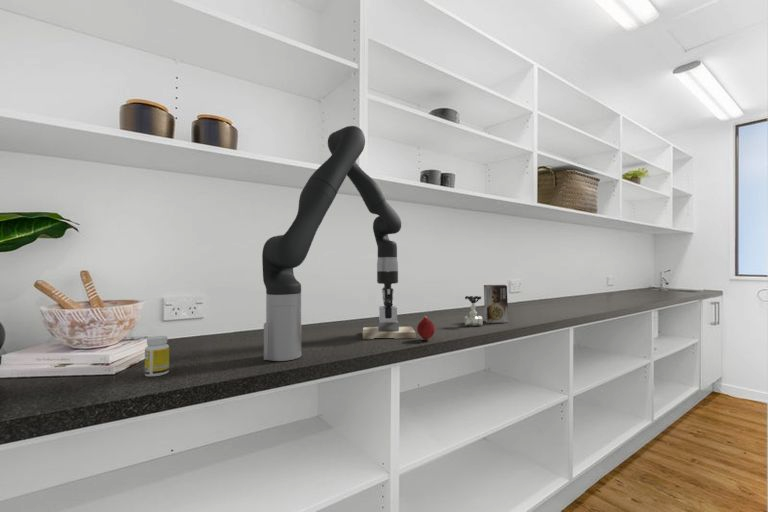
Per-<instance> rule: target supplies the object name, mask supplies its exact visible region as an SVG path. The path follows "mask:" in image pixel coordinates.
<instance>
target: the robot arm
mask: <svg viewBox="0 0 768 512" xmlns="http://www.w3.org/2000/svg"><path fill="white" fill-rule="evenodd" d="M365 145H366V137H365V134H364V132H363V130H362V129H361V128H360V127H358V126H356V125H349V126H345V127H343V128H340V129H338V130H336V131H333V132H332V133H330V134H329V136H328V138H327V147H328V150H329V152H330V154H331V155H330V157H329V158H327V159H326V160H325V161H324V162H323V163H322V164H321V165H320V166H319V167H317V169H316V170H315V171H314V172H313V173H312V174H311V176H310V177H309V178H308V180H307V182H306V183H305V185H304V187H303V188H302V190H301V192H300V195H299V199H298V208H297V209H298V210H297V215H296V216H295V218H294V220H293V222H292V223H291V225H290V226H289V228H288V229H287V231H286V232H285V233H283V234H279V235H275V236H272V237H270V238H268V239H267V240H266V241H265V243H264V244H263V248H262V255H261V257H262V258H261V259H262V262H261V263H262V279H263V284H264V286H265V296H266V297H265V299H266V300H265V306H266V307H265V313H266V314H265V315H266V316H265V322H264V323H263V360H264V361H273V362H286V361H292V360H297V359H299V358H300V357H302V284H301V282H299V281H298V280H297V279H296V277H295V275H294V268H298V267H300V265H302V264H303V263H304V261H305V259H306V257H307V256H308V253H309V251H310V249H311V246H312V244H313V241H314V239H315V236H316V234H317V231H318V230H319V228H320V226H321V224H322V222H323V220H324V218H325V216H326V214H327V212H328V210H329V209H330V207H331V206H332V204H333V202H334V200H335V199H336V196H337V195H338V192H339V190H340V188H341V187H342V185H343V183H344V181H345V179H346V177H348V179H349V180H350V181H351V182H352V184H353V185H354V187H355V189H356V190H357V191H358V193H359V195H360V196H361V199H362V201H363V202H364V204H365V207H366V208H367V210H368V212H369V213H370V214H371V215H372V214H373V215H377V217H375V219H374V220H373V223H372V231H373V235H374V239H375V242H376V243H375V244H376V246H377V260H376V261H377V262H376V282H377V284H378V285H379V284H383V287H382V288H381V294H382V301H383V306H385V307H386V308H385V318H392V308H391V307H392V306H394V305H393V302H394V288H392V284H398V283H399V265H398V264H399V262H398V246H397V243H396V241H394V240H390V238H389V235H395V234H397V233H399V232H400V231H401V228H402V220H401V217H400V215H398V213H397V212H396V210H395V209H394V208H393V207H392V206H391V204H390V203H388V202H387V200H386V198H385V196H384V194H383V192H382V190H381V188H380V187H379V185H378V183H377V182H376V181H375V180H374V179H373V178H372V177H371V176H369V174H367V173H366V172H365V171H364V170H363V169H362V168H361V167H360V165H359V164H358V163H357V160H358V159H359V157H360V156H361V154H362V153H363V151H364V150H365V149H364V148H365ZM387 302H390V303H387Z"/></svg>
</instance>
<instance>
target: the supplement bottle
mask: <svg viewBox="0 0 768 512" xmlns="http://www.w3.org/2000/svg"><path fill="white" fill-rule="evenodd" d="M169 372H170V345H169V344H168V336H167V335H156V336H155V335H154V336H149V337H147V338H146V346H145V348H144V376H145V377H149V378H150V377H159V376H163V375H166V374H168V373H169Z"/></svg>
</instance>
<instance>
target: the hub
mask: <svg viewBox="0 0 768 512" xmlns="http://www.w3.org/2000/svg"><path fill="white" fill-rule="evenodd" d="M378 308H379V309H378V312H379V314H378V316H379V319H378V320H379V321H380V323H389V322H397V320H398V308H397V305H392V307H391V308H392V318H385V306H384V305H383V306H378Z"/></svg>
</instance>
